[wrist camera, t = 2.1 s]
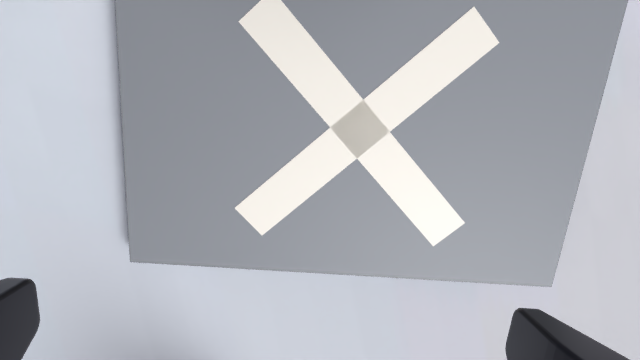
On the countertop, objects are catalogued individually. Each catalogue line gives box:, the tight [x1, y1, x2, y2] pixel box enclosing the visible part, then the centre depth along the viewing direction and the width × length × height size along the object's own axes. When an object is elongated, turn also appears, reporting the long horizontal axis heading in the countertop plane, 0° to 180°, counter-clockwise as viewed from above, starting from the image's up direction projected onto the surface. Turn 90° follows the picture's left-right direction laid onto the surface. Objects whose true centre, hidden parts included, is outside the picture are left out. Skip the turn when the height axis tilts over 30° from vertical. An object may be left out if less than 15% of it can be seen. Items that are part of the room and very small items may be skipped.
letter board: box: [115, 0, 628, 287], centre depth 20 cm, size 20×14×1 cm
